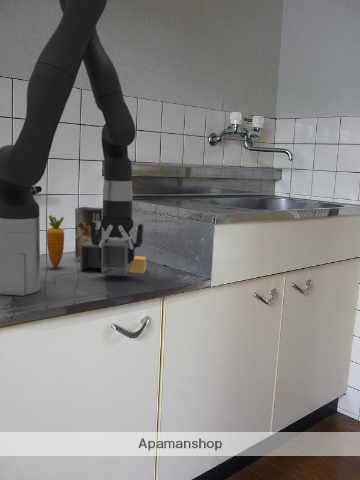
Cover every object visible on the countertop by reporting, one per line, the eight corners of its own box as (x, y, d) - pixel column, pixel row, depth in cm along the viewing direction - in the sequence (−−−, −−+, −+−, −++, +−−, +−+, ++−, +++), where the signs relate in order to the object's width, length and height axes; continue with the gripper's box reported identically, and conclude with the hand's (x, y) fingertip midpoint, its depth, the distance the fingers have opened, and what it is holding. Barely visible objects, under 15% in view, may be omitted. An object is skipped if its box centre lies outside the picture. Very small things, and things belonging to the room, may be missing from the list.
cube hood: (126, 273, 126) (126, 244, 125) (101, 272, 127) (101, 243, 125) (131, 268, 132) (131, 240, 131) (107, 266, 133) (107, 239, 132)
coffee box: (110, 260, 152) (111, 208, 150) (101, 264, 146) (102, 210, 143) (84, 257, 155) (84, 206, 152) (74, 261, 149) (74, 208, 146)
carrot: (67, 266, 140) (67, 214, 138) (61, 270, 136) (61, 216, 133) (50, 265, 141) (49, 213, 138) (43, 269, 136) (43, 215, 134)
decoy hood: (103, 273, 135) (103, 246, 134) (80, 271, 135) (80, 244, 134) (109, 268, 141) (109, 242, 140) (86, 266, 142) (87, 241, 140)
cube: (143, 273, 136) (144, 259, 136) (129, 272, 137) (129, 258, 136) (146, 270, 140) (146, 256, 140) (132, 269, 141) (132, 256, 140)
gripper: (86, 198, 123) (85, 263, 126) (142, 200, 122) (141, 266, 125) (94, 196, 131) (93, 257, 133) (147, 198, 129) (146, 260, 132)
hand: (116, 261), depth 129 cm, fingers closed on cube hood, 6 cm apart
